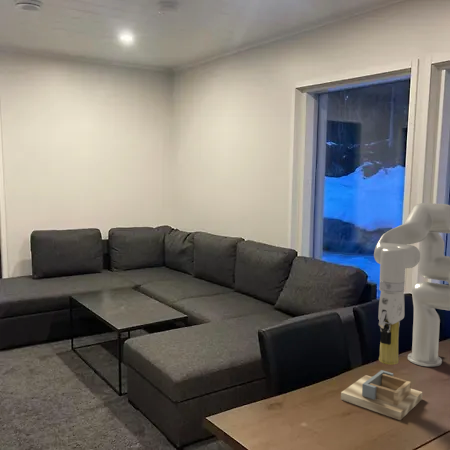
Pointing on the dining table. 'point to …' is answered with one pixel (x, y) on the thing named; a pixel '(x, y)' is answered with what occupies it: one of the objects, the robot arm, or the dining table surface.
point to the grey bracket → (369, 389)
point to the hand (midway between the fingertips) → (389, 340)
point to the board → (385, 396)
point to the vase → (390, 347)
